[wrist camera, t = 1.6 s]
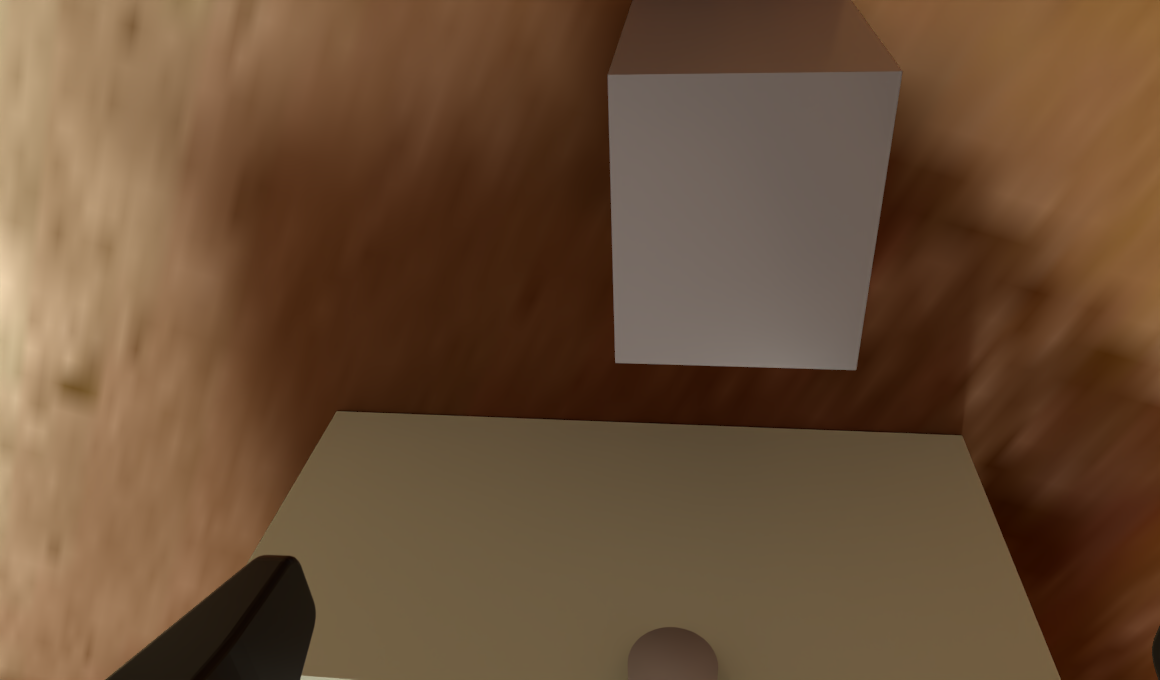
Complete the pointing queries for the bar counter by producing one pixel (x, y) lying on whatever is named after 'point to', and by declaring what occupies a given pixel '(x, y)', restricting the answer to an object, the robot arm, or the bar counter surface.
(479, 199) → the bar counter surface
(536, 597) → the pale green open box
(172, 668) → the robot arm
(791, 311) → the grey block
